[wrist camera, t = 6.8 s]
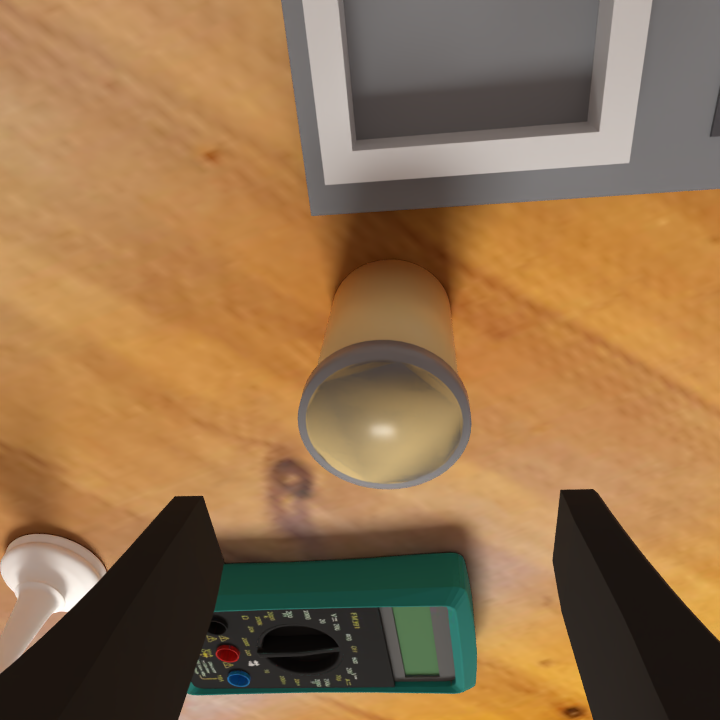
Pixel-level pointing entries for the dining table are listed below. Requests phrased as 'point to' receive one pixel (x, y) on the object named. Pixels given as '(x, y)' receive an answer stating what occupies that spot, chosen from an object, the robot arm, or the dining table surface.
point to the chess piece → (43, 586)
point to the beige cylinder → (387, 381)
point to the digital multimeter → (341, 627)
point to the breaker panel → (503, 100)
